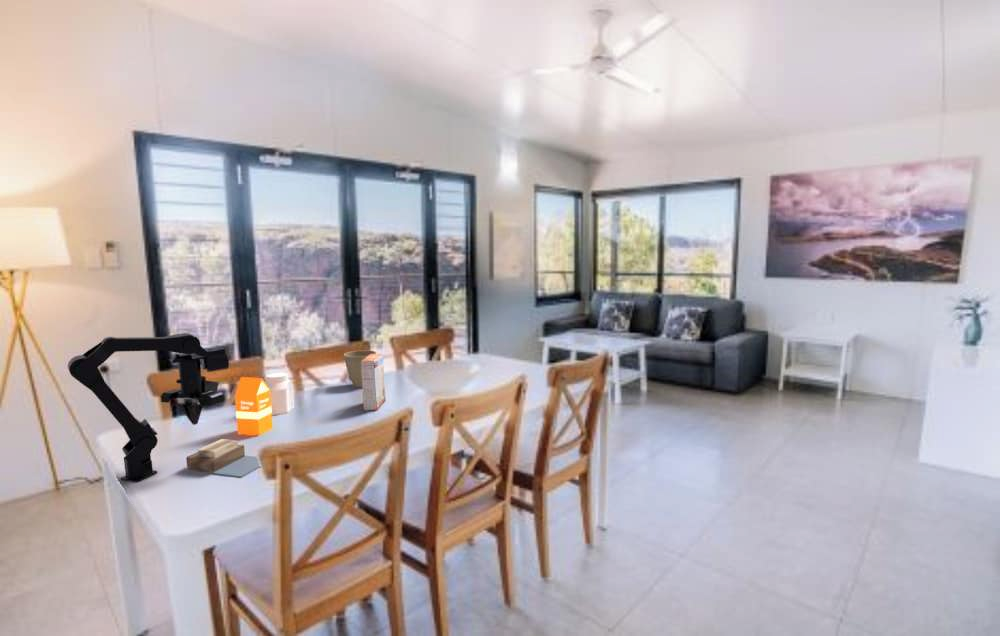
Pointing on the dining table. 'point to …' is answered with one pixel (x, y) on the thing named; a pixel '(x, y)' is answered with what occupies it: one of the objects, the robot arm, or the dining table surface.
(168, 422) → the dining table surface
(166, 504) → the dining table surface
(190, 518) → the dining table surface
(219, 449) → the beige rectangular block
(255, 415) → the orange juice
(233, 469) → the mat
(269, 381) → the jar
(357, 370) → the plant pot
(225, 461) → the brown wooden flat block
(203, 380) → the robot arm
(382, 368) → the cracker box
